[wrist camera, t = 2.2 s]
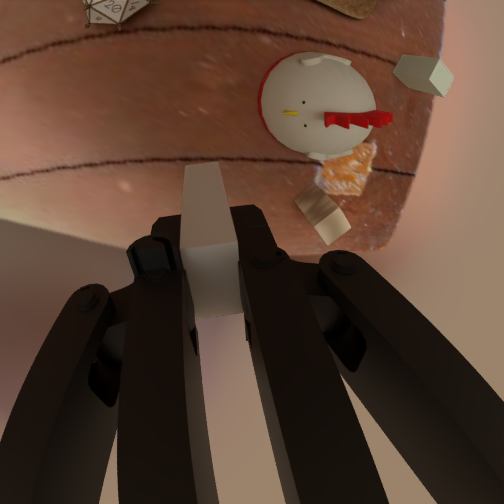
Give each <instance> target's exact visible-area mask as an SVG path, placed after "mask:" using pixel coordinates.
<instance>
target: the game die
mask: <svg viewBox="0 0 504 504" xmlns="http://www.w3.org/2000/svg"><path fill="white" fill-rule="evenodd" d="M149 3H151V4H153V5H155V4H158V3H157V2H156V1H151V0H83V4H84V8H83V9H84V10H85V11H86V15H87V18H88V22H89V23H88V24H86V25H85V29H86V28H89V26H90V24H114V25H117V29H118V30H121V28H122V25H121V23H126V22H127V19H128V18H129V17H131V16H132V15H133V14H135V13H136V12H138V11H139V10H140V9H142V8H143V7H145V6H146V5H148V4H149Z"/></svg>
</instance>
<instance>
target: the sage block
mask: <svg viewBox="0 0 504 504" xmlns="http://www.w3.org/2000/svg"><path fill="white" fill-rule="evenodd" d="M392 73H393V74H394V75H395V76H396V77H397V78H398V79H399V80H400V81H401V82H402V83H403V84H404V85H405V86H406V87H407V88H409V89H414V90H418V91H422V92H426V93H430V94H433V95H437V96H440V97H445V95H446V93H447V91H448V89H449V87H450V85H451V83H452V81H453V79H454V76H453V75H452V74H451V72H450V71H449V70H448V68H447V67H446V66H445V65H444V63H443V62H442V61H441V60H440V59H439V58H432V57H424V56H415V55H404V54H402V56H401V58H400V60H399V62H398V63H397V65H396V67H395V69H394V70H393V72H392Z"/></svg>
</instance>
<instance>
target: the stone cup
mask: <svg viewBox="0 0 504 504" xmlns="http://www.w3.org/2000/svg"><path fill="white" fill-rule="evenodd" d="M317 1H319V2H321V3H323V4H325V5H327V6H329V7H331V8H334V9H336V10H338V11H340V12H342V13H344V14H346V15H349V16H351V17H354V18H357V19H364V18H366V17H367V16H368V15H369V14H370V13H371V11H372V10H373V9H374V7H375V5H376V2H377V0H317Z"/></svg>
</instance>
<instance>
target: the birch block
mask: <svg viewBox="0 0 504 504" xmlns="http://www.w3.org/2000/svg"><path fill="white" fill-rule="evenodd" d="M293 200H294V202H295V203H296V204H297V206H298V207H299V208H300V210H301V211H302V212H303V214H304V215H305V216H306V218H307V219H308V220H309V222H310V223H311V224H312V225H313V227H314V228H315V229H316V231H317V232H318V233H319V235H320V236H321V237H322V239H323V240H324V241H325V243H326V244H327V245H329V244H331V243H332V242H333V241H335V240H336V239H337V238H339V237H340V236H341V235H343V234H344V233H345V232H346V231H348V230H349V229H350V228H351V226H350V224H349V223H348V221H347V219H346V218H345V216H344V214H343V213H342V211H341V209H340V208H339V206H338V205H337V204H336V203H334V202H333V201H332V200H331V199H330V198H329V197H328V196H327V195H326V194H325V193H324V192H323V191H322V190H321V189H320V188H319V187H318V186H317V185H316V184H315V183H314V184H312V185H311V186H310V187H308V188H307V189H306V190H304V191H303V192H302V193H300V194H299V195H298V196H296V197H295V198H294V199H293Z"/></svg>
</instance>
